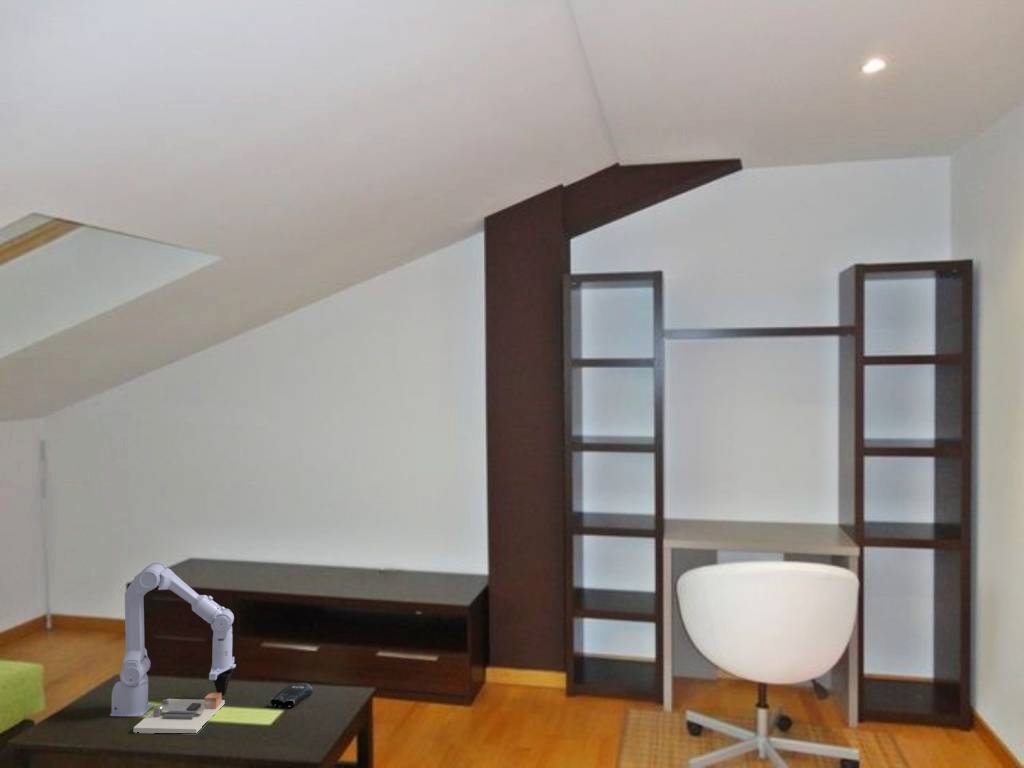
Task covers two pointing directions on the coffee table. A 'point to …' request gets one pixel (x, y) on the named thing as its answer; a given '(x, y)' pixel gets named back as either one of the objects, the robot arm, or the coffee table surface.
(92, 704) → the coffee table surface
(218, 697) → the block
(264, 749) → the coffee table surface
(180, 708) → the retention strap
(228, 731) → the coffee table surface
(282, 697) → the electronic device
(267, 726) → the coffee table surface
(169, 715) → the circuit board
